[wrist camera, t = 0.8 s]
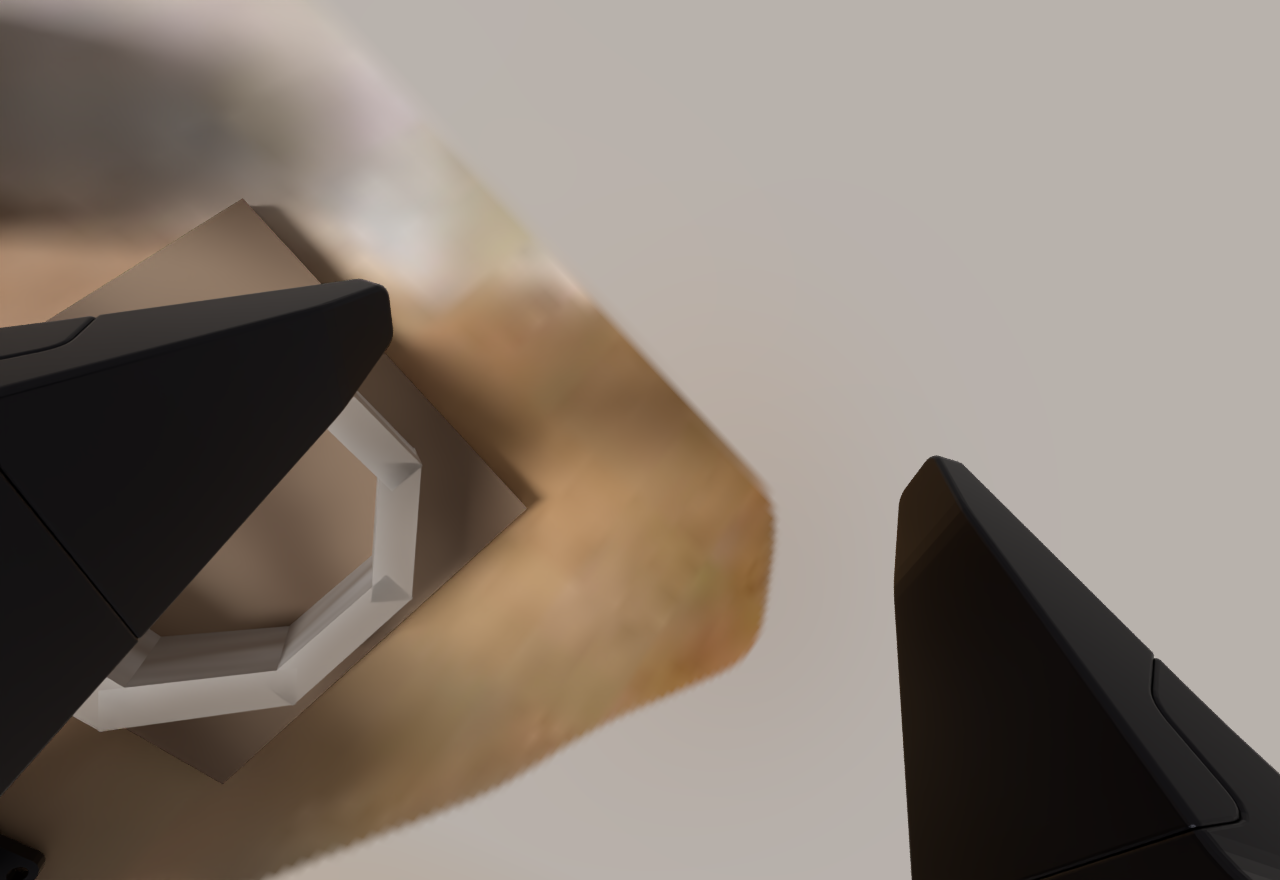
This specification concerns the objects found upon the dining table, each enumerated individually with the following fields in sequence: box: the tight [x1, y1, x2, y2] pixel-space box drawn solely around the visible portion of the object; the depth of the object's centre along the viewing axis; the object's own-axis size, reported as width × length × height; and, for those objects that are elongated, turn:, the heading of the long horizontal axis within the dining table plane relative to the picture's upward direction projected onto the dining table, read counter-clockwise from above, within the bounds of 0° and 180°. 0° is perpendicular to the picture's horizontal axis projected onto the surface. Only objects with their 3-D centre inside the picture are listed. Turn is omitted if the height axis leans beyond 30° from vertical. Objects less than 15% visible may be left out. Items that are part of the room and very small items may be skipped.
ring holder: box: [46, 199, 527, 784], centre depth 17 cm, size 14×14×4 cm
